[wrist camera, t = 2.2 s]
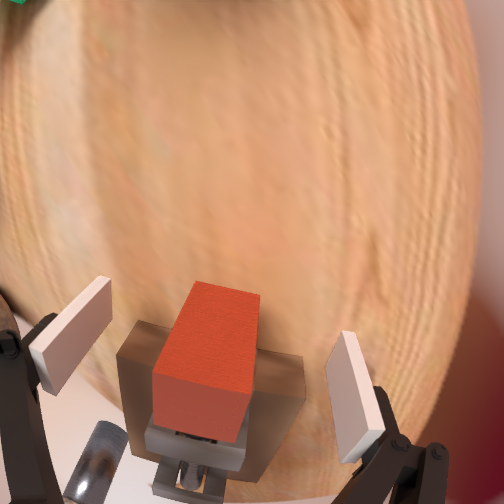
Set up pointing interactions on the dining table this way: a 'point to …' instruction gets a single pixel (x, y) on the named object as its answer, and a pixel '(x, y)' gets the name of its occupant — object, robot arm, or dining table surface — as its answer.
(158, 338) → the dock block
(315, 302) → the dining table surface
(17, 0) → the camera mount
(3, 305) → the bowl
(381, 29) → the dining table surface
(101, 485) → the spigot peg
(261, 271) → the dining table surface
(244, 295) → the pin
